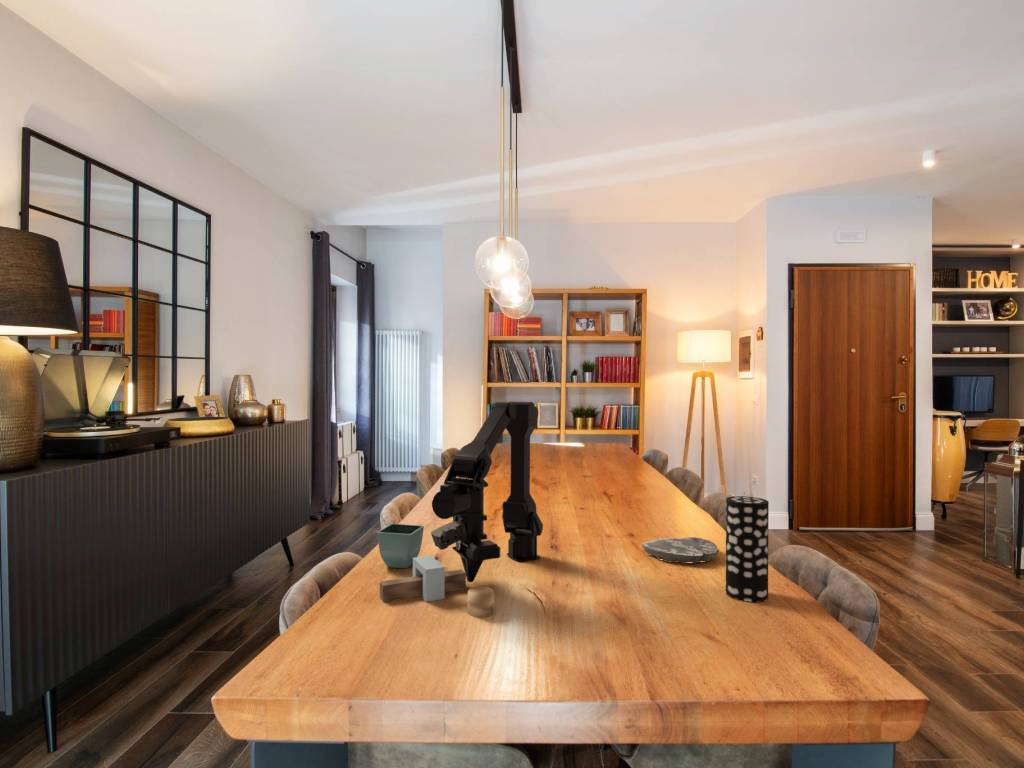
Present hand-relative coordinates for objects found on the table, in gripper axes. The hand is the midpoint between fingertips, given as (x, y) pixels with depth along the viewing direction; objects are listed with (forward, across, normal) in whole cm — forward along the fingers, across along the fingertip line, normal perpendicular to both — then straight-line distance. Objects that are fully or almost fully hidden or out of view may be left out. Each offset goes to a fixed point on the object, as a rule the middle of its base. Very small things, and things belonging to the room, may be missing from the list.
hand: (470, 581), depth 126 cm
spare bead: (+1, +14, -4) cm, 14 cm away
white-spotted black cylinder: (+1, +30, +50) cm, 59 cm away
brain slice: (+2, +3, +58) cm, 59 cm away
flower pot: (+1, -21, -10) cm, 23 cm away
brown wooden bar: (+1, -1, -10) cm, 10 cm away
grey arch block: (+1, 0, -10) cm, 10 cm away
